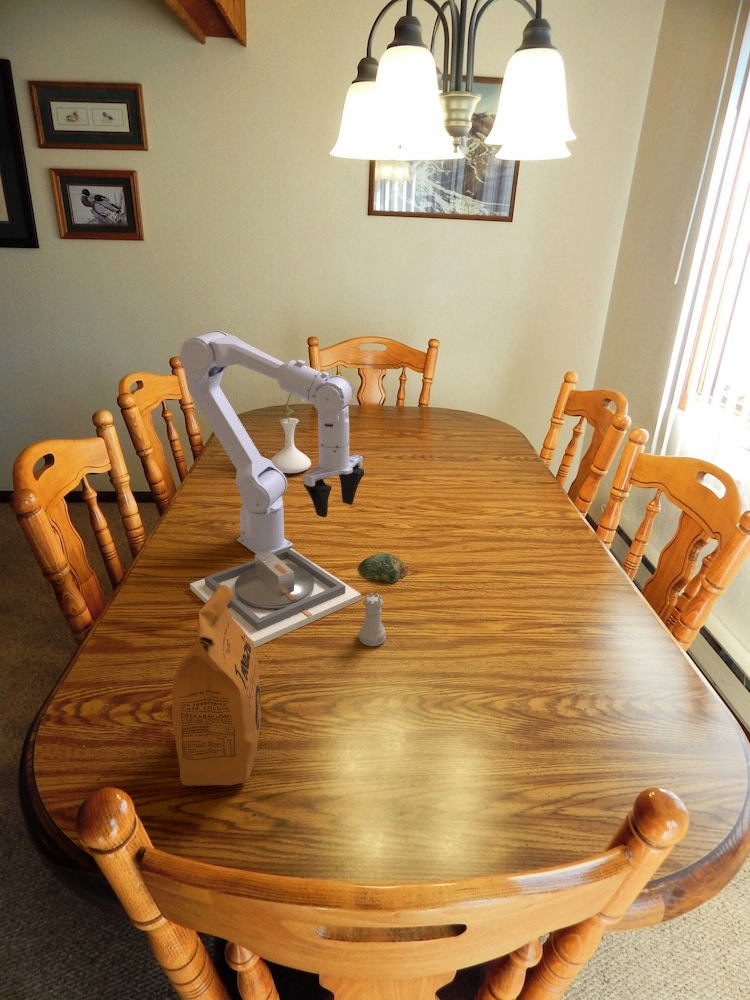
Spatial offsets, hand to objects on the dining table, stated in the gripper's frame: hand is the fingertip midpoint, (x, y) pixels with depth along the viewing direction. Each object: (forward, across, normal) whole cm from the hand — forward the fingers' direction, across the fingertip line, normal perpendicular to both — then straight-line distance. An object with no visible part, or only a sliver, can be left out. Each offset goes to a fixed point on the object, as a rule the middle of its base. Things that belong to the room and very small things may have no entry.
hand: (335, 509), depth 122 cm
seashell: (+11, +2, -11) cm, 16 cm away
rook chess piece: (+11, -17, -23) cm, 30 cm away
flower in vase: (+10, +28, +42) cm, 52 cm away
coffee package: (+11, -47, -24) cm, 54 cm away
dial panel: (+10, -18, -1) cm, 21 cm away
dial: (+9, -18, -1) cm, 20 cm away
